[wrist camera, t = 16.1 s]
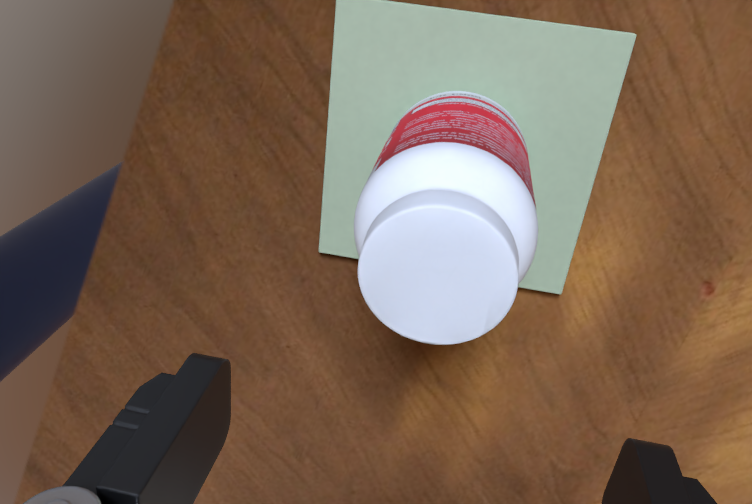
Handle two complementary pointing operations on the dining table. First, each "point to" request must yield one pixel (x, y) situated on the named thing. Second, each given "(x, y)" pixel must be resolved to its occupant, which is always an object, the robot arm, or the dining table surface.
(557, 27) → the mat
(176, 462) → the robot arm
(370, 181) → the pill bottle
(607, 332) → the dining table surface
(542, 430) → the dining table surface
